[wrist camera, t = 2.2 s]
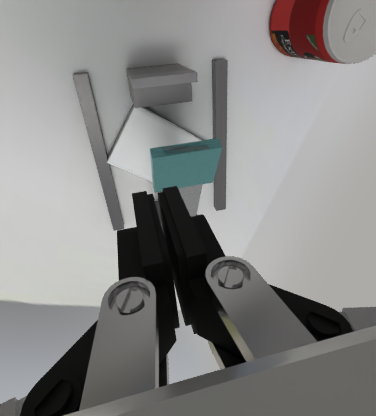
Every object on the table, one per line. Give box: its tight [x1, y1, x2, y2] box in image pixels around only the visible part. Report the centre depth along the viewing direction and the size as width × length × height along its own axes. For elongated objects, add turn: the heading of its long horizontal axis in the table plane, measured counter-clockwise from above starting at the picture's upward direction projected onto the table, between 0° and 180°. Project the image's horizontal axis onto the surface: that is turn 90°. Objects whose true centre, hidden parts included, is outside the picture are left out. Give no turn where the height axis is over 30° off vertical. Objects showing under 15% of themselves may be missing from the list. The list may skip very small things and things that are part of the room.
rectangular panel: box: [150, 138, 222, 217], centre depth 30 cm, size 18×6×1 cm, turn 4°
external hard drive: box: [107, 104, 203, 182], centre depth 37 cm, size 2×8×12 cm
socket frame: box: [73, 59, 227, 231], centre depth 34 cm, size 21×18×9 cm
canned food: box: [270, 0, 376, 64], centre depth 29 cm, size 8×8×11 cm
